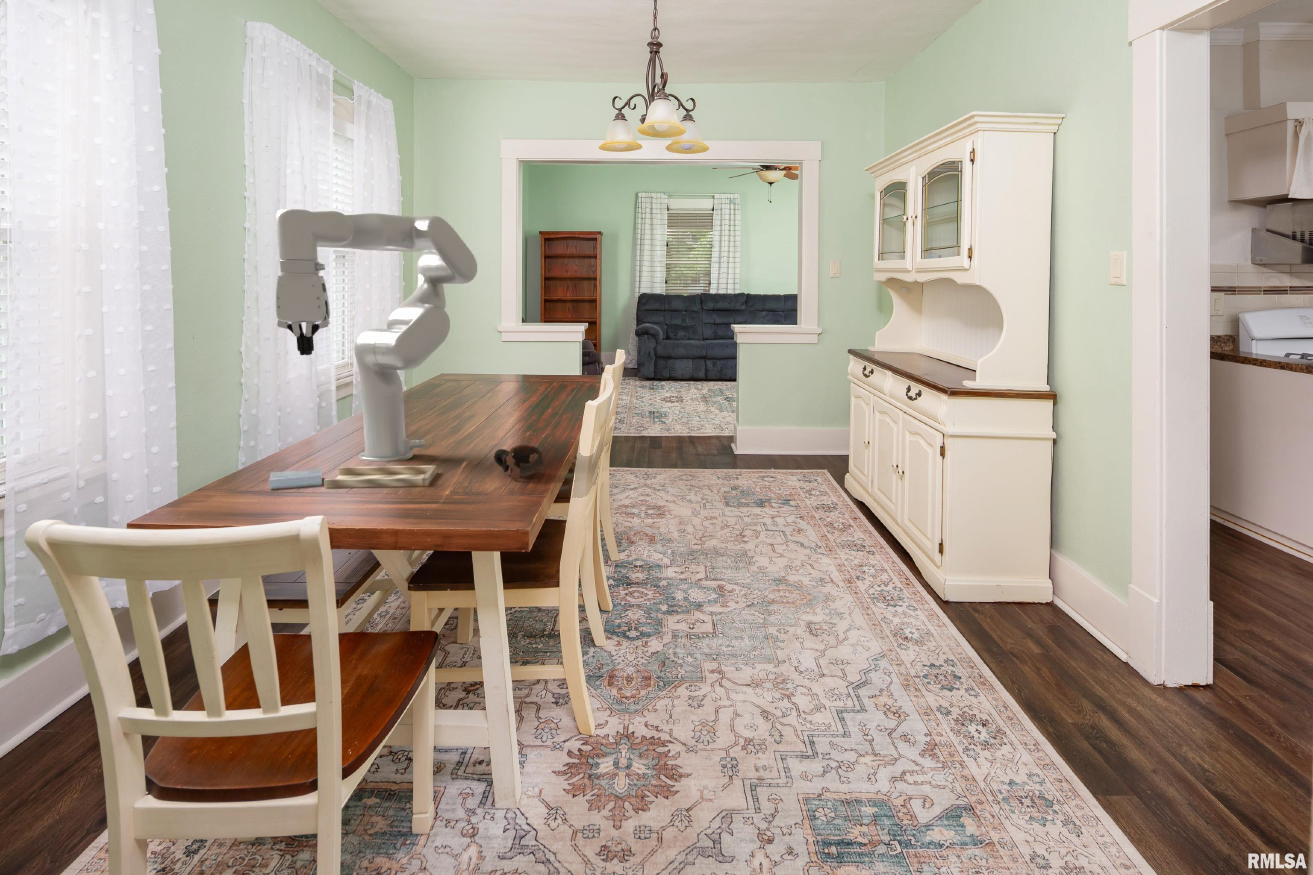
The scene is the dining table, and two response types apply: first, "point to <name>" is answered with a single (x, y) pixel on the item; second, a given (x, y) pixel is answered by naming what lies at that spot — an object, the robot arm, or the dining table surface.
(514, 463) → the pottery mug
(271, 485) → the cover plate
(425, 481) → the tray
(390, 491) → the dining table surface
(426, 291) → the robot arm
